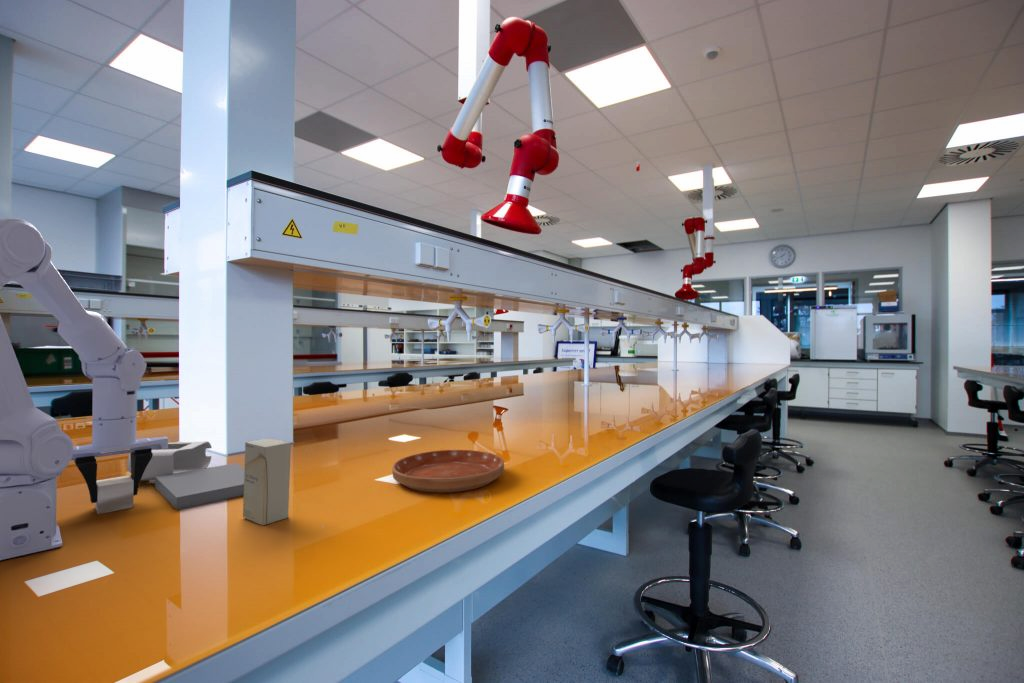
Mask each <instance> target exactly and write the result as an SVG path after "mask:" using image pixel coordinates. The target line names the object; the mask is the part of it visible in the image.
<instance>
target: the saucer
mask: <svg viewBox="0 0 1024 683" xmlns="http://www.w3.org/2000/svg"><path fill="white" fill-rule="evenodd" d="M391 470H392V477H393V479H394V480H395V482H398V483H399V484H401V485H403V486H405V487H407V488H409V489H411V490H414V491H419V492H426V493H439V494H440V493H441V494H442V493H457V492H465V491H471V490H474V489H478V488H482V487H484V486H487V485H489V484H490V483H492V482H494V480H496V479H498V478H499V477H501V476H502V475H503V473H504V471H505V462H504V459H503V458H502V457H501V456H500V455H497V454H494V453H491V452H486V451H481V450H471V449H444V450H443V449H442V450H441V449H440V450H432V451H425V452H419V453H415V454H411V455H408V456H405V457H403V458H400V459H398V460H397V461H395V462H394V463H393V465H392V467H391Z"/></svg>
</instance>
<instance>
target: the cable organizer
mask: <svg viewBox="0 0 1024 683" xmlns="http://www.w3.org/2000/svg"><path fill="white" fill-rule="evenodd" d="M212 448H213V447H212V445H211V443H210V442H209V441H205V440H204V441H180V442H179V441H178V442H168V449H156V450H152V451H151V452H152V453H153V456H152V458H151V460H150V462H149V463H148V465H147V467H146V469H145V471H144V473H143V475H142V478H141V480H140V482H141V481H149V482H148V483H150V484H151V483H152V484H153V483H154V484H155V477H156V476H162V475H168V474H174V473H180V472H186V471H192V470H198V469H204V468H209V465H210V464H211V461H212V456H211V455H209V456H208V455H207V454H206V451H207V449H212ZM126 469H127V471H128V472H129V474H131V457H130V454H129V455H128V457H127V460H126Z"/></svg>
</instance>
